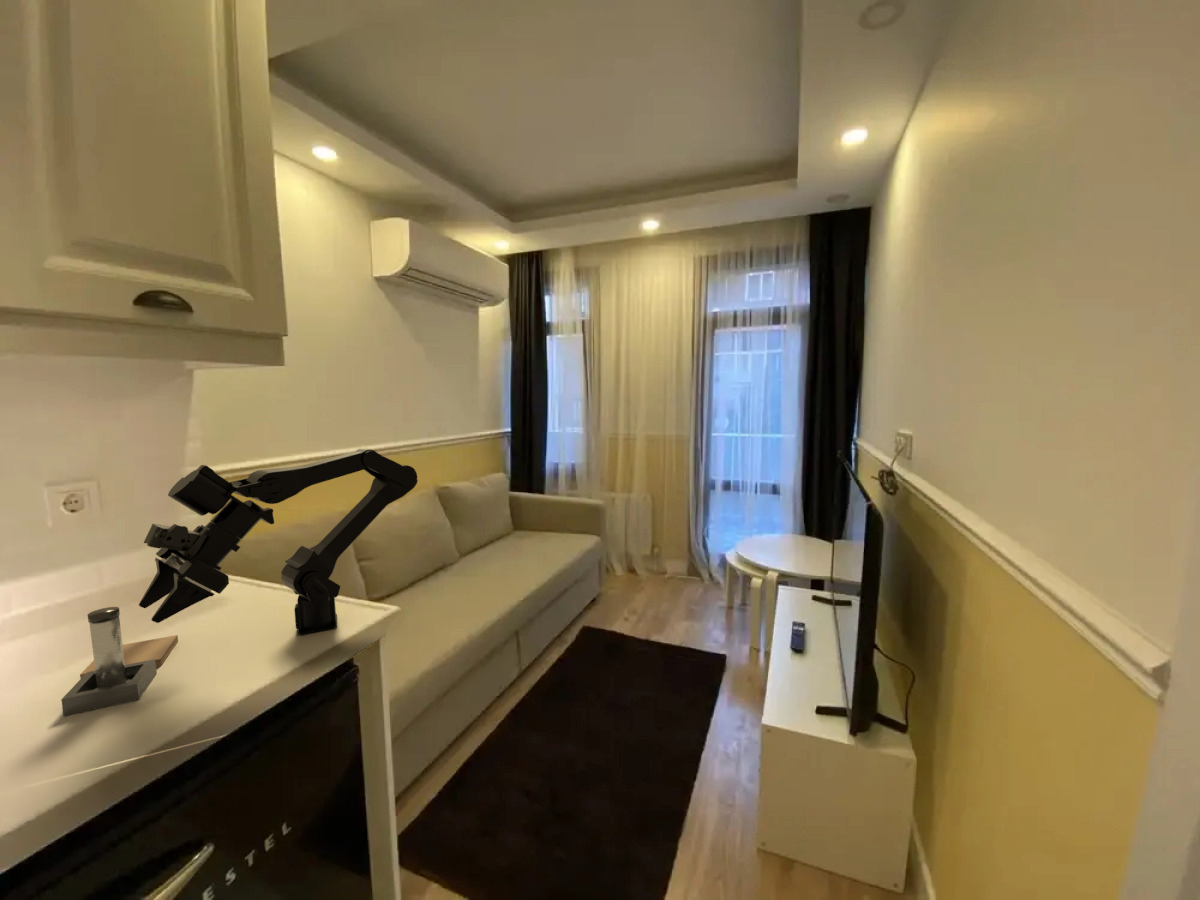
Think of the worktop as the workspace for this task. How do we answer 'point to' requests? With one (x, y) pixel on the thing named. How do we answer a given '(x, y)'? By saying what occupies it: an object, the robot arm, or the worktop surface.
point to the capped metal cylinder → (107, 647)
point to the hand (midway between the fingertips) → (147, 614)
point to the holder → (108, 689)
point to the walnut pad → (144, 652)
